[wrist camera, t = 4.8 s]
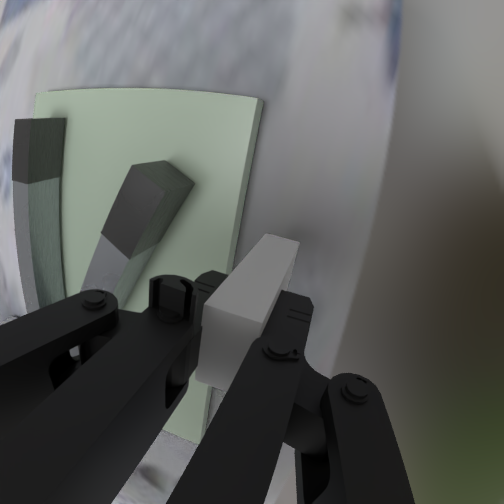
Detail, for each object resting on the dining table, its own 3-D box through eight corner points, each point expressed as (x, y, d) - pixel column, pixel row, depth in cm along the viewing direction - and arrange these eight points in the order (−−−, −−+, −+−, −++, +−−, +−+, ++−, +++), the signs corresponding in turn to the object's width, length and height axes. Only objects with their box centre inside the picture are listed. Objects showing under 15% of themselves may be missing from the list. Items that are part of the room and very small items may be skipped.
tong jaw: (81, 342, 22) (58, 360, 20) (165, 160, 15) (131, 164, 13) (99, 359, 22) (77, 379, 20) (195, 183, 15) (165, 192, 13)
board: (61, 361, 27) (54, 367, 26) (47, 93, 18) (36, 93, 17) (204, 435, 24) (199, 445, 23) (263, 101, 14) (257, 98, 13)
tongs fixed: (67, 375, 26) (44, 396, 22) (48, 117, 17) (6, 120, 13) (102, 396, 25) (79, 420, 21) (91, 118, 16) (44, 119, 12)
